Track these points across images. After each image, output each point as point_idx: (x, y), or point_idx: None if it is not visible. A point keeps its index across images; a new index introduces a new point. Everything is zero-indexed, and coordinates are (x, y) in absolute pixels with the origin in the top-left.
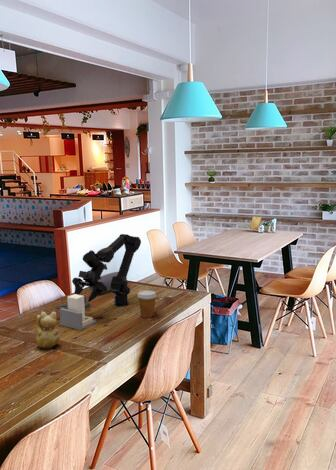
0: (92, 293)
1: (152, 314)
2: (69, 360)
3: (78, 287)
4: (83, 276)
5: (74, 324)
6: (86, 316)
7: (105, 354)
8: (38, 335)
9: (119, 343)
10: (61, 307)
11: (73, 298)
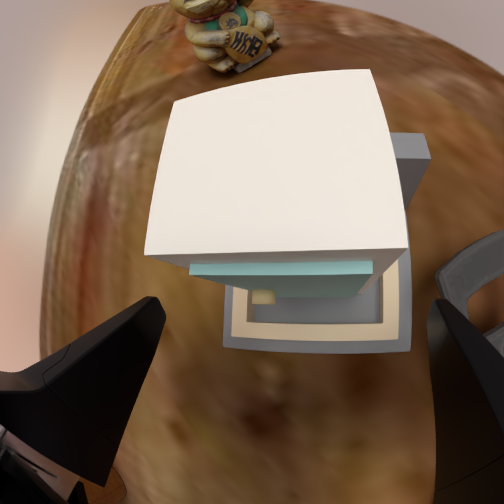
0: (60, 355)
1: None
2: (141, 73)
3: (495, 491)
4: None
5: None
6: (292, 337)
7: (81, 145)
8: (253, 11)
9: (68, 212)
10: (497, 238)
11: (232, 89)
